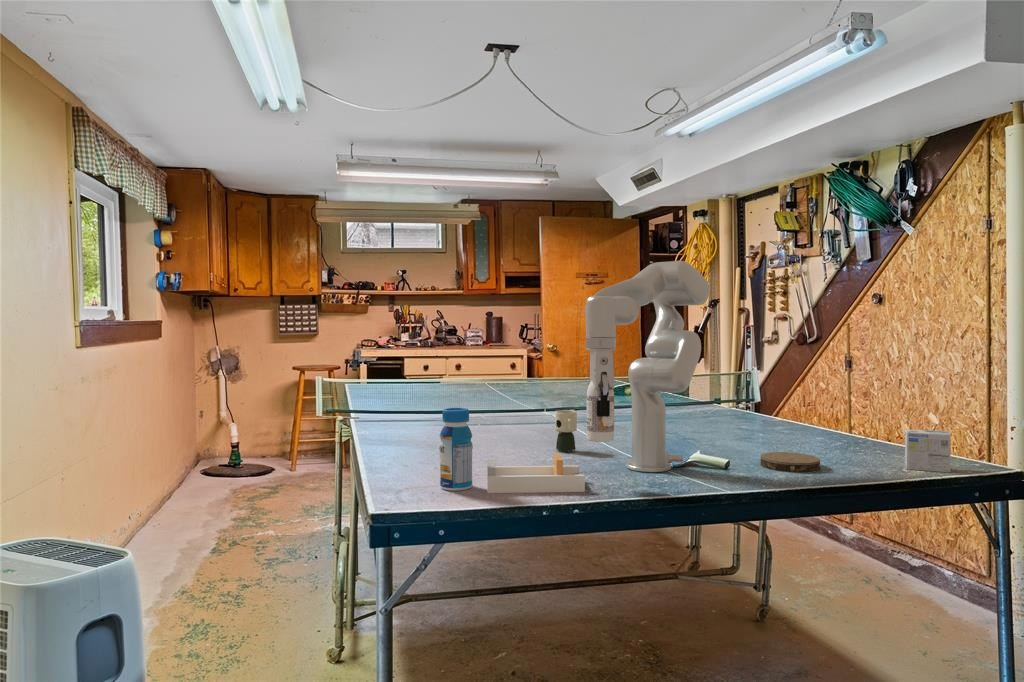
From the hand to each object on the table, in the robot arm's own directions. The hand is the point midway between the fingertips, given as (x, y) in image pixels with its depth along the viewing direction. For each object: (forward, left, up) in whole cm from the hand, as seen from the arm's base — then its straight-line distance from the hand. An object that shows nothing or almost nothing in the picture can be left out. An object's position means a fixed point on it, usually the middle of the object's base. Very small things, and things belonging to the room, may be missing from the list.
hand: (600, 413), depth 169 cm
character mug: (+4, -46, -19) cm, 50 cm away
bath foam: (0, 0, -7) cm, 7 cm away
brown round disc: (-58, -20, -19) cm, 64 cm away
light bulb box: (-95, -15, -19) cm, 98 cm away
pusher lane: (+17, 0, -19) cm, 25 cm away
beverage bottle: (+37, 0, -19) cm, 41 cm away
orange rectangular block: (+11, 0, -17) cm, 20 cm away
